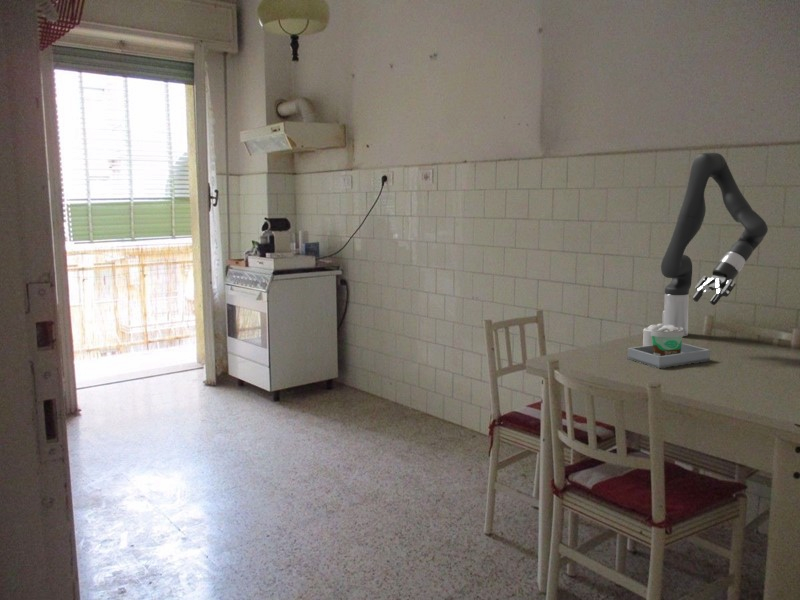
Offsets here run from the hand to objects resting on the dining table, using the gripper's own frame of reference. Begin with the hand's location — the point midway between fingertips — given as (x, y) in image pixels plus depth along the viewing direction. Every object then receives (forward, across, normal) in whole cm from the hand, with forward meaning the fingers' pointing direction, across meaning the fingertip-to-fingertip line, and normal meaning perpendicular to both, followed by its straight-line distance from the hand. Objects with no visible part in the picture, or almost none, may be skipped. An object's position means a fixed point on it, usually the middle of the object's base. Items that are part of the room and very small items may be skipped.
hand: (703, 302), depth 241 cm
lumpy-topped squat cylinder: (+18, -15, +9) cm, 25 cm away
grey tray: (+25, +2, +1) cm, 25 cm away
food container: (+24, +3, +1) cm, 24 cm away
